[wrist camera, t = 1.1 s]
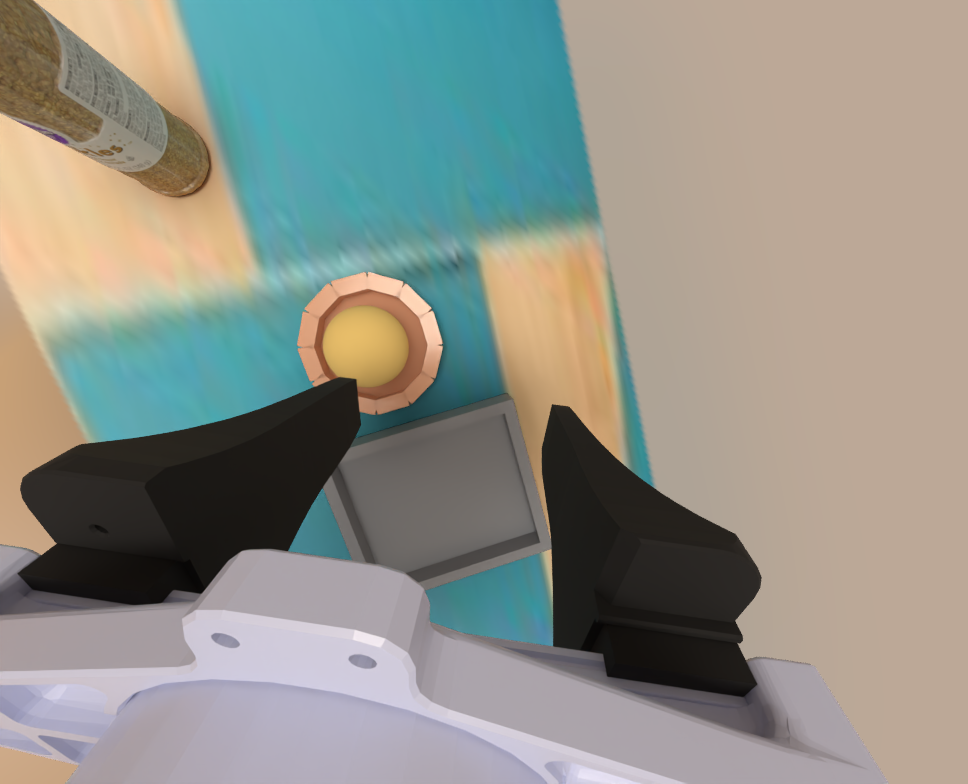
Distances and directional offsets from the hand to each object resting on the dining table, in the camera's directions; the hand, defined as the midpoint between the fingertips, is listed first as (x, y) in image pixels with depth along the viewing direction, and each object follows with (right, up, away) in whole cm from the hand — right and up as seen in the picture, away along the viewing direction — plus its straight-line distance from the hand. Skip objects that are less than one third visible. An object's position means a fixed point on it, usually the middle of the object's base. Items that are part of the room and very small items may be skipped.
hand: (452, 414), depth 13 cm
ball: (-6, +4, +11) cm, 13 cm away
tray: (-2, -7, +14) cm, 16 cm away
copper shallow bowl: (-6, +4, +12) cm, 14 cm away
